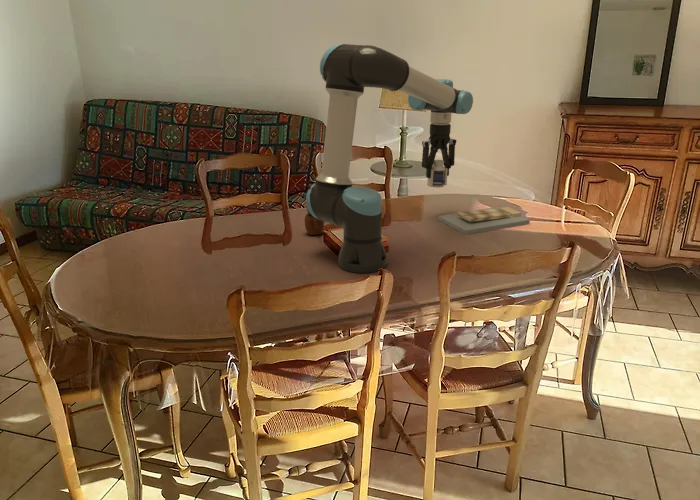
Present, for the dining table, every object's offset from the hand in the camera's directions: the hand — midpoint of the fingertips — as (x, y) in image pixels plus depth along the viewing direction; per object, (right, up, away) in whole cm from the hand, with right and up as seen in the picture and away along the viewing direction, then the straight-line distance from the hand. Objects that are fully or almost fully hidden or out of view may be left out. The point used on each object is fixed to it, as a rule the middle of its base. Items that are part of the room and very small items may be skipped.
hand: (436, 185), depth 224 cm
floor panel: (+17, -14, -3) cm, 22 cm away
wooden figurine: (-45, -19, -14) cm, 51 cm away
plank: (+17, -12, -4) cm, 21 cm away
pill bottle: (0, -1, 0) cm, 1 cm away
